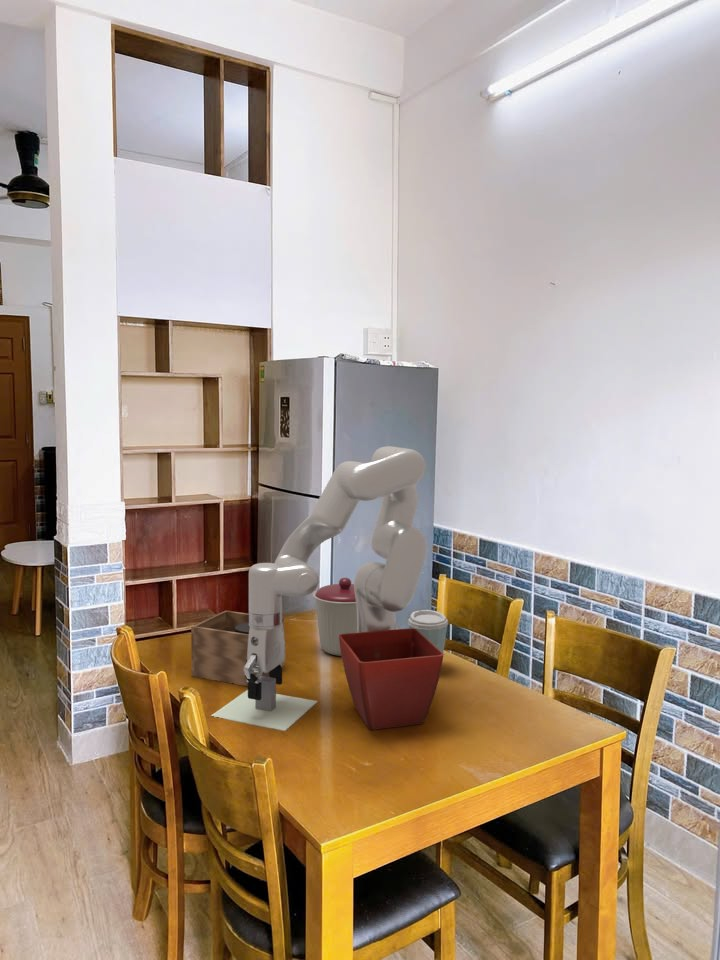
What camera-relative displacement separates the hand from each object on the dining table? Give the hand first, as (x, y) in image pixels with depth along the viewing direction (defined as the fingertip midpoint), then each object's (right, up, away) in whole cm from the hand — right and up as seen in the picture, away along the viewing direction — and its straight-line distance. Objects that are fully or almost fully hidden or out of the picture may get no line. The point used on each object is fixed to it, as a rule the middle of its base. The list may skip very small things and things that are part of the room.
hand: (265, 691), depth 165 cm
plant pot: (+28, -5, -2) cm, 29 cm away
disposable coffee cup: (+39, -2, +27) cm, 48 cm away
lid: (0, -5, +1) cm, 5 cm away
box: (-10, -2, +24) cm, 26 cm away
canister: (+17, -1, +41) cm, 44 cm away
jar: (-7, -2, +24) cm, 25 cm away
